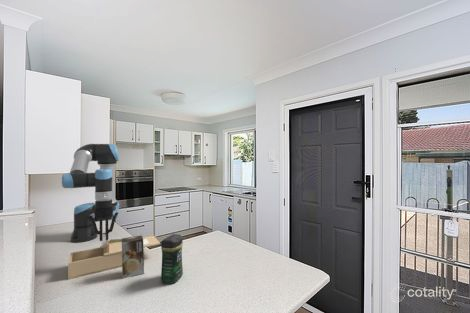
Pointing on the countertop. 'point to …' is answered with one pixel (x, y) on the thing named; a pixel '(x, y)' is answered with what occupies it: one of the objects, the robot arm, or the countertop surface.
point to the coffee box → (132, 256)
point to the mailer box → (92, 262)
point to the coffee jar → (171, 259)
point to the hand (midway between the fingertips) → (104, 246)
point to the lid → (117, 246)
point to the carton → (114, 241)
